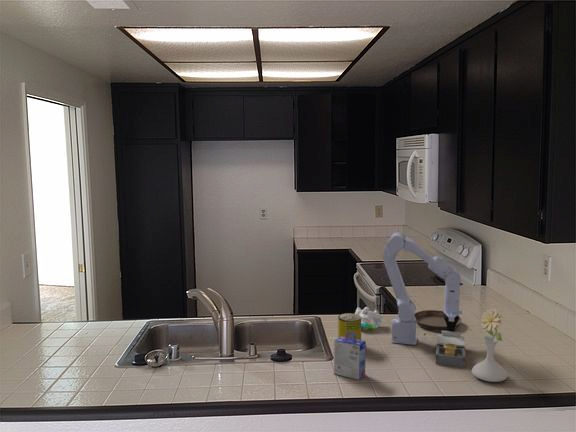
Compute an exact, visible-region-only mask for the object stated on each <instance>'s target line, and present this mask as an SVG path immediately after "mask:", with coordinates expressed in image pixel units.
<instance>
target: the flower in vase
mask: <svg viewBox="0 0 576 432" xmlns="http://www.w3.org/2000/svg"><path fill="white" fill-rule="evenodd" d="M502 318H503V315H502V314H501V312H499V310H498V309H497V308H495V309H493V308H490V309H487V311H484V312H483V314H482V317H481V319H480V322H481V324H480V327H482V329H484V332H487V333H488V334H489V335H486V336H482V339H483V341H484V342H485V346H486V357H485V359H484V360H482V361H480V362H478V363H476V364H475V365H474V366H473V367H472V369H471V373H472V375H473V376H475V377H476V378H477V379H480V380H482V381H485V382H492V383H498V382H503V381H506V380H507V378H508V372H507V371H506V369H505V368H504V367H503V366H501V365H500V364H499V363H498V362H497V361H496V359H495V347H496V345H497V343H498V342H499V341H503V338H502V334H501V332H498V329H497V328H499V326H500V325H501V324H502V320H503V319H502ZM494 331H495V333H494Z"/></svg>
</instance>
